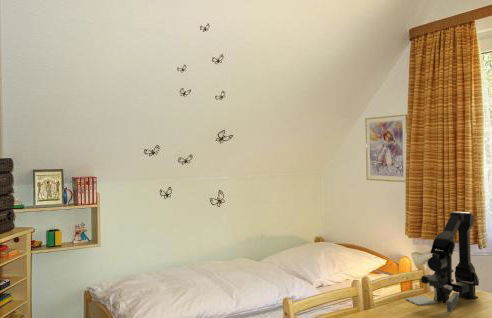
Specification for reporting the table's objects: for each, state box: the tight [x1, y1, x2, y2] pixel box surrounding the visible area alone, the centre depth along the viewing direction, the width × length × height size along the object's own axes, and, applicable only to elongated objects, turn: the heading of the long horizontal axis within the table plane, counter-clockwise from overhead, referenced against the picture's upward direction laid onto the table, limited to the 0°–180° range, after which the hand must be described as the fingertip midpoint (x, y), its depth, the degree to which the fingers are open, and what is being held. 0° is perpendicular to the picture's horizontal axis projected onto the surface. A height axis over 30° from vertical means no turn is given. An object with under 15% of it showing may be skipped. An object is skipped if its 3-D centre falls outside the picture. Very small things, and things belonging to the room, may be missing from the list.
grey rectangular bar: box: [446, 292, 459, 312], centre depth 182 cm, size 15×2×4 cm, turn 143°
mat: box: [404, 295, 438, 306], centre depth 189 cm, size 10×9×1 cm
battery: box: [433, 287, 450, 302], centre depth 191 cm, size 7×4×11 cm, turn 105°
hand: (444, 303), depth 177 cm, fingers closed
